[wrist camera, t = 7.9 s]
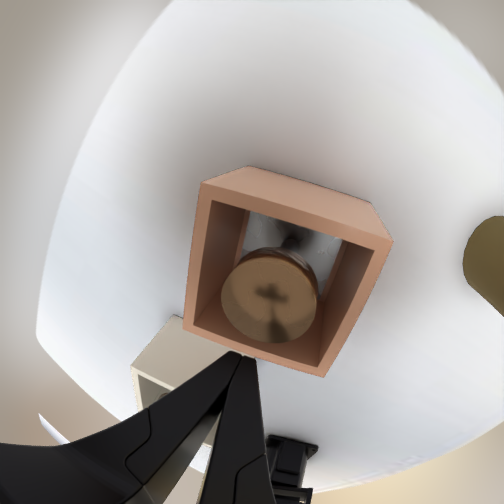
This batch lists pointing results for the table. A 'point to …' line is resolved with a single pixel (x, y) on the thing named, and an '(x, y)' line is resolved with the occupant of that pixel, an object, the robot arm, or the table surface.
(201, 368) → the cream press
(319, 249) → the brown and grey plunger
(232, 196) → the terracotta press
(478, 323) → the table surface
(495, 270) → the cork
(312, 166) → the table surface
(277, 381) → the table surface
